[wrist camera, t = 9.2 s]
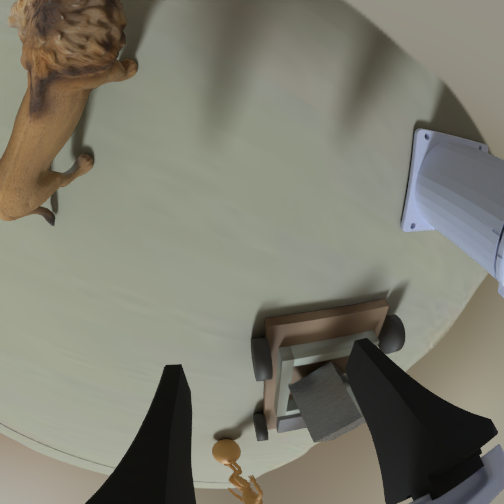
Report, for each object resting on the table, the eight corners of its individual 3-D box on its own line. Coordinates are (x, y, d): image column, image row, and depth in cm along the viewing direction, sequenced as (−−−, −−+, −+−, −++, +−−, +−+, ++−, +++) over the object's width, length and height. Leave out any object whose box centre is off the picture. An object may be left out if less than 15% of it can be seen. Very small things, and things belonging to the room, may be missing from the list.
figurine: (221, 428, 32) (231, 509, 21) (262, 430, 33) (278, 505, 23) (203, 447, 35) (210, 516, 25) (240, 450, 37) (251, 514, 27)
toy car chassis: (394, 296, 24) (414, 322, 20) (348, 405, 34) (357, 425, 30) (249, 319, 22) (257, 354, 19) (253, 425, 32) (258, 448, 29)
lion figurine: (94, -1, 9) (18, -54, 1) (171, 13, 11) (137, -65, 3) (29, 211, 15) (-47, 286, 7) (90, 234, 17) (30, 329, 9)
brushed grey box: (330, 360, 23) (361, 416, 18) (346, 372, 27) (371, 418, 22) (288, 386, 23) (314, 442, 19) (310, 394, 27) (333, 439, 23)
